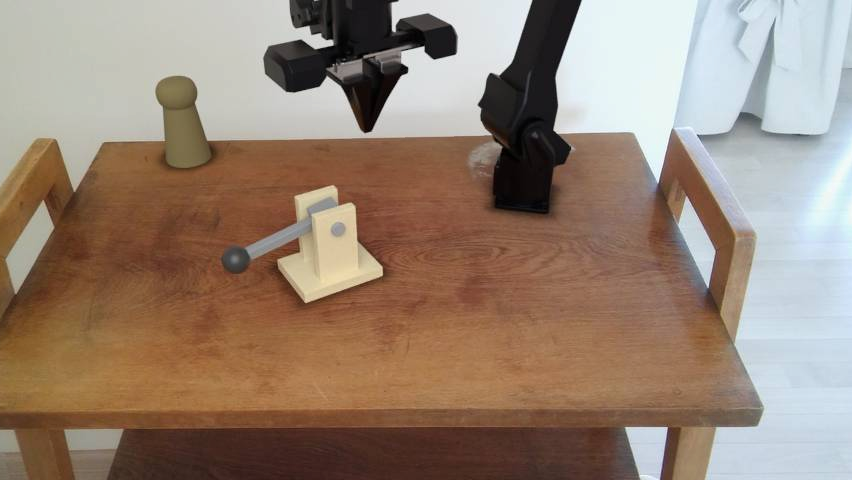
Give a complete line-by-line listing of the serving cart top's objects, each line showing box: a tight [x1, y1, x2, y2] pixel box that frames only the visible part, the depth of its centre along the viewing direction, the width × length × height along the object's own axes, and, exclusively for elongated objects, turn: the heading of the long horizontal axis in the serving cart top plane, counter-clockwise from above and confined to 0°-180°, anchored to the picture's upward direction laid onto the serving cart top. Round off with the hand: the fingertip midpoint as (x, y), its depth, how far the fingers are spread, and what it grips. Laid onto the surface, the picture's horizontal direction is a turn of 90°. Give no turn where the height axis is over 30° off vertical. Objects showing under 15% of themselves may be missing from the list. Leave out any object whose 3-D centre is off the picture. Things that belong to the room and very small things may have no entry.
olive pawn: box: [154, 75, 212, 169], centre depth 100 cm, size 6×6×11 cm
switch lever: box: [221, 197, 340, 275], centre depth 76 cm, size 13×3×3 cm, turn 119°
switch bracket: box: [276, 184, 384, 304], centre depth 79 cm, size 9×7×9 cm
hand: (366, 131), depth 79 cm, fingers closed
